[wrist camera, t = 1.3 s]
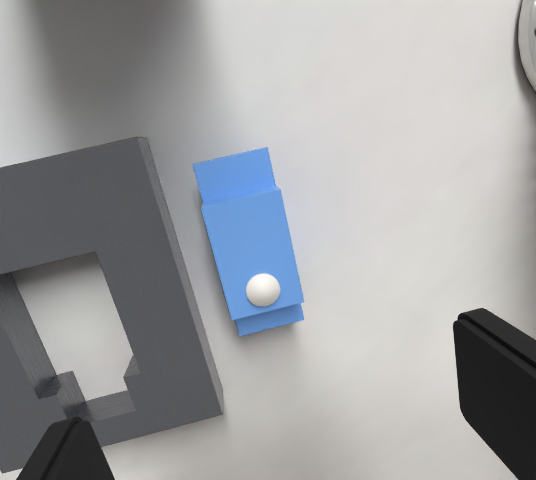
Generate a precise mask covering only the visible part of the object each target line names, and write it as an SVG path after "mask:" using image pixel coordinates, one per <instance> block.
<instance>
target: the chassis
mask: <svg viewBox="0 0 536 480" xmlns="http://www.w3.org/2000/svg"><path fill="white" fill-rule="evenodd" d="M91 252H96V254H97V257H98V260H99V262H100V265H101V268H102V270H103V273H104V276H105V279H106V281H107V284H108V287H109V289H110V292H111V295H112V297H113V300H114V303H115V305H116V308H117V311H118V314H119V316H120V319H121V322H122V324H123V327H124V330H125V332H126V335H127V338H128V340H129V343H130V346H131V348H132V351H133V354H134V355H133V356H132V359H131V361H130V363H129V366H128V368H127V370H126V373H125V375H124V377H123V378H124V381H125V383H126V386H127V388H128V390H127V391H123V392H119V393H116V394H112V395H108V396H104V397H100V398H96V399H93V400H89V401H85V399H84V397H83V395H82V392H81V390H80V388H79V385H78V383H77V381H76V378H75V376H74V374H73V371H70V372H66V373H62V374H58V375H56V373H55V371H54V369H53V367H52V364H51V362H50V360H49V358H48V355H47V353H46V351H45V349H44V347H43V344H42V342H41V340H40V338H39V335H38V333H37V331H36V329H35V327H34V324H33V322H32V320H31V318H30V315H29V313H28V311H27V309H26V306H25V304H24V302H23V300H22V298H21V295H20V293H19V291H18V289H17V286H16V284H15V282H14V280H13V278H12V275H11V273H10V272H12V271H16V270H20V269H24V268H29V267H33V266H37V265H41V264H45V263H49V262H54V261H58V260H62V259H66V258H70V257H74V256H79V255H83V254H87V253H91ZM222 414H223V389H222V386H221V383H220V379H219V376H218V373H217V369H216V366H215V363H214V359H213V356H212V353H211V349H210V346H209V343H208V339H207V336H206V333H205V330H204V326H203V323H202V320H201V316H200V313H199V310H198V306H197V303H196V300H195V296H194V293H193V290H192V286H191V283H190V280H189V277H188V273H187V270H186V267H185V263H184V260H183V257H182V253H181V250H180V247H179V243H178V240H177V237H176V234H175V230H174V227H173V224H172V220H171V217H170V214H169V210H168V207H167V204H166V200H165V197H164V194H163V190H162V187H161V184H160V181H159V177H158V174H157V171H156V167H155V164H154V161H153V157H152V154H151V151H150V147H149V144H148V141H147V138H145V137H134V138H130V139H125V140H121V141H117V142H112V143H108V144H103V145H99V146H94V147H90V148H85V149H81V150H76V151H72V152H68V153H63V154H59V155H54V156H50V157H45V158H41V159H36V160H32V161H28V162H23V163H19V164H14V165H10V166H5V167H1V168H0V470H1V472H2V473H6V472H10V471H14V470H17V469H21V468H24V466H25V465H26V463H27V461H28V460H29V458H30V456H31V455H32V453H33V452H34V450H35V448H36V447H37V445H38V443H39V442H40V440H41V439H42V437H43V435H44V434H45V432H46V430H47V429H48V427H49V426H50V425H51V424H52V423H54V422H58V421H62V420H65V419H69V418H73V417H80V418H81V419H82V420H83V421H89V422H90V424H91V426H92V428H93V430H94V433H95V435H96V437H97V440H98V442H99V444H100V446H101V447H103V446H107V445H111V444H114V443H118V442H122V441H125V440H129V439H133V438H137V437H140V436H144V435H148V434H152V433H155V432H159V431H163V430H166V429H170V428H174V427H178V426H181V425H185V424H189V423H193V422H196V421H200V420H204V419H207V418H211V417H215V416H219V415H222Z"/></svg>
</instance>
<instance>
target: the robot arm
mask: <svg viewBox="0 0 536 480" xmlns="http://www.w3.org/2000/svg"><path fill="white" fill-rule="evenodd" d="M518 43H519V49H520V56H521V62H522V64H523V67H524V70H525V73H526V76H527V78H528V80H529V81H530V83H531V85H532V87H533V88H534V90H535V91H536V0H523V2H522V7H521V13H520V19H519V38H518ZM453 332H454V344H455V355H456V367H457V378H458V390H459V401H460V409H461V412H462V414H463V416H464V418H465V419H466V421H467V422H468V423H469V424H470V426H471V427H472V428H473V429H474V430H475V431H476V432H477V433H478V435H479V436H480V437H481V438H482V439H483V440H484V441H485V442H486V444H487V445H488V446H489V447H490V448H491V449H492V450H493V451H494V453H495V454H496V455H497V456H498V457H499V458H500V459H501V460H502V462H503V463H504V464H505V465H506V466H507V467H508V468H509V469H510V471H511V472H512V473H513V474H514V475H515V476H516V477H517V479H518V480H536V340H535V339H533V338H532V337H530V336H528V335H527V334H525V333H523V332H522V331H520V330H519V329H517V328H515V327H514V326H512V325H511V324H509V323H507V322H506V321H504V320H503V319H501V318H499V317H498V316H496V315H494V314H493V313H491V312H490V311H488V310H486V309H484V308H479V309H475V310H472V311H468V312H464V313H461V314H459V316H458V320H457V321H455V322H454V323H453ZM16 480H115V479H114V476H113V474H112V472H111V469H110V467H109V465H108V463H107V460H106V458H105V456H104V453H103V451H102V449H101V446H100V444H99V442H98V440H97V437H96V435H95V433H94V430H93V428H92V426H91V424H90V422H89V421H83V420H82V419H81V418H80V417H73V418H69V419H65V420H62V421H58V422H54V423H52V424H51V425H50V426H49V427H48V429H47V430H46V432H45V434H44V435H43V437H42V439H41V440H40V442H39V443H38V445H37V447H36V448H35V450H34V452H33V453H32V455H31V456H30V458H29V460H28V461H27V463H26V465H25V466H24V468H23V469H22V471H21V473H20V474H19V476H18V478H17V479H16Z"/></svg>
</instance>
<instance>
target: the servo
mask: <svg viewBox="0 0 536 480" xmlns="http://www.w3.org/2000/svg"><path fill="white" fill-rule="evenodd" d="M193 168H194V171H195V175H196V179H197V182H198V186H199V190H200V193H201V197H202V201H203V204H202V207H201V210H202V214H203V218H204V221H205V225H206V229H207V232H208V236H209V239H210V243H211V247H212V250H213V254H214V258H215V261H216V265H217V268H218V272H219V276H220V279H221V283H222V287H223V290H224V294H225V297H226V301H227V305H228V308H229V312H230V316H231V319H232V320H235V321H236V325H237V329H238V332H239V336H243V335H247V334H251V333H255V332H259V331H263V330H267V329H270V328H274V327H278V326H282V325H286V324H290V323H294V322H298V321H302V320H304V316H303V311H302V307H301V303H302V302H304V299H303V294H302V290H301V285H300V280H299V275H298V270H297V266H296V261H295V256H294V251H293V247H292V242H291V237H290V232H289V228H288V223H287V218H286V213H285V209H284V204H283V199H282V194H281V190H280V189H279V188H278V187H277V186H276V185H275V180H274V175H273V171H272V166H271V161H270V156H269V152H268V147H265V148H261V149H257V150H252V151H248V152H244V153H239V154H235V155H231V156H226V157H222V158H218V159H213V160H209V161H204V162H200V163H196V164H193Z"/></svg>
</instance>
